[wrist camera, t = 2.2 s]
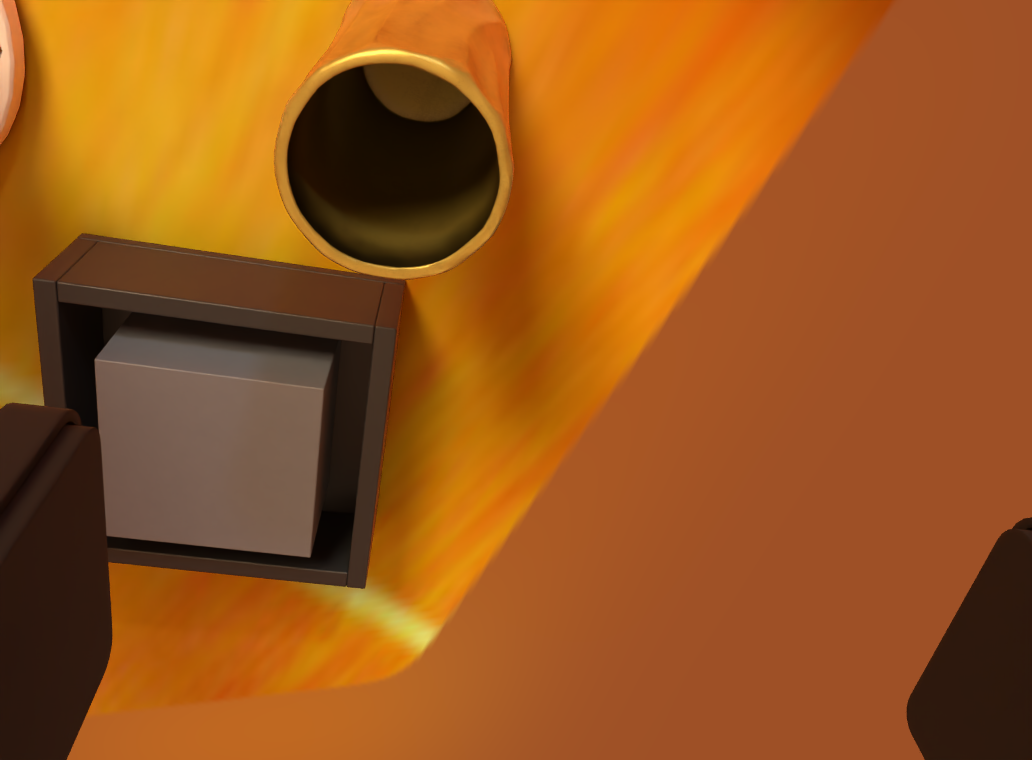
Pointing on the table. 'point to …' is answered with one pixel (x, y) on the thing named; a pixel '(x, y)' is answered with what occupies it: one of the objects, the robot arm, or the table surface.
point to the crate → (246, 303)
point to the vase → (402, 138)
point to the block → (215, 433)
